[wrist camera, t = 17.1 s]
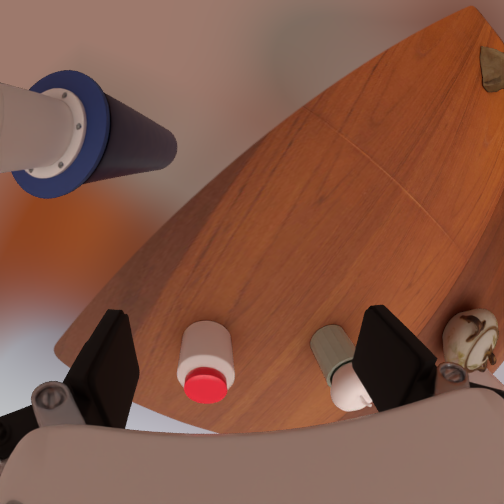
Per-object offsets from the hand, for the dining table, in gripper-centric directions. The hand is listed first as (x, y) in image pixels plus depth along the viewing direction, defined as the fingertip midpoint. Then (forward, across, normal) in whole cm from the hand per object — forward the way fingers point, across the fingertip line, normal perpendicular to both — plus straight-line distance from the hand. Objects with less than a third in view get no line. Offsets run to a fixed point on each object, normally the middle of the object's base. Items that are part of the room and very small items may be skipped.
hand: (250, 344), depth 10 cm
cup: (+28, -17, +21) cm, 39 cm away
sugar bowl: (+28, -50, +23) cm, 62 cm away
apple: (+20, -17, +21) cm, 34 cm away
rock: (+28, -50, -34) cm, 67 cm away
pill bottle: (+28, +3, +20) cm, 35 cm away
